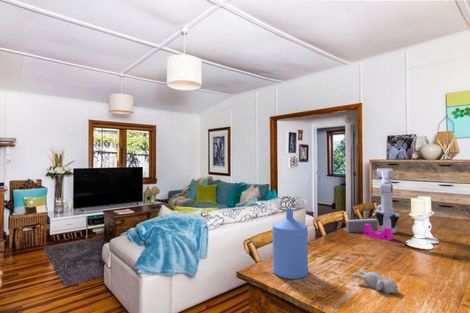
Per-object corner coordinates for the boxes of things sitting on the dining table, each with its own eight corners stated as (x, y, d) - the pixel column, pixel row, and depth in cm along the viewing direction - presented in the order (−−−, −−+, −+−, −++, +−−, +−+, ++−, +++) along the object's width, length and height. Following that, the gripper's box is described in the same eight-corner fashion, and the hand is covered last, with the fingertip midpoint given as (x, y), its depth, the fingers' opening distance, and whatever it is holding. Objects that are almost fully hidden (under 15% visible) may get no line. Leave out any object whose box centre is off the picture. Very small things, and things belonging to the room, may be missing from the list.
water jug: (301, 283, 109) (301, 214, 110) (266, 274, 118) (266, 210, 118) (312, 269, 123) (312, 208, 123) (280, 262, 131) (280, 205, 131)
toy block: (393, 239, 169) (393, 227, 169) (389, 241, 165) (389, 228, 165) (368, 234, 180) (368, 222, 180) (364, 235, 176) (364, 224, 176)
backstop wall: (371, 228, 193) (371, 217, 193) (377, 230, 187) (377, 219, 187) (343, 230, 190) (343, 219, 190) (348, 232, 184) (348, 221, 184)
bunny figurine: (391, 287, 97) (351, 269, 109) (389, 300, 98) (350, 281, 109) (401, 279, 103) (362, 263, 115) (399, 292, 104) (361, 275, 115)
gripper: (371, 202, 165) (371, 225, 164) (393, 205, 152) (394, 229, 151) (379, 202, 168) (379, 224, 167) (401, 205, 155) (402, 229, 154)
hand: (387, 227), depth 159 cm, fingers open, 7 cm apart
